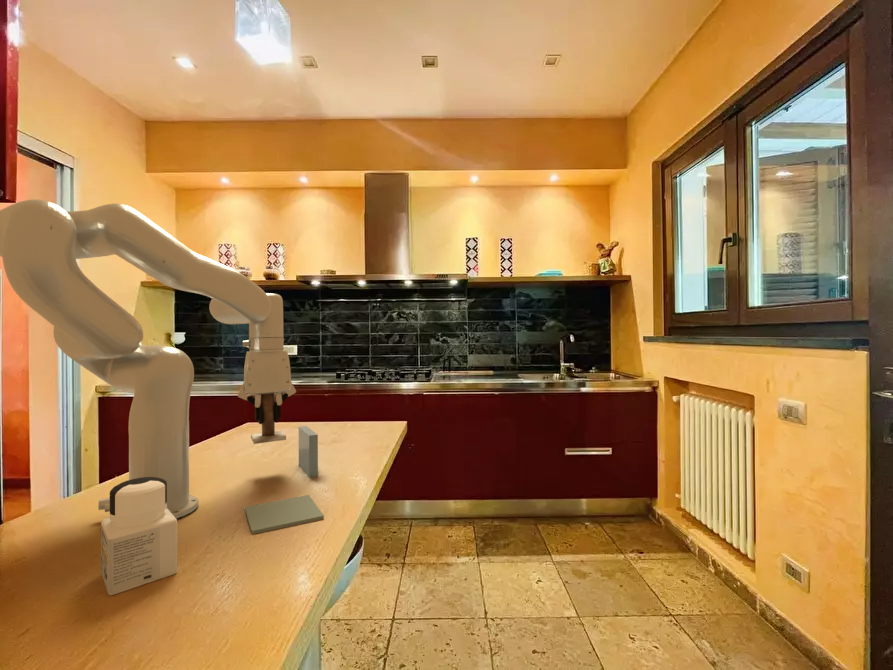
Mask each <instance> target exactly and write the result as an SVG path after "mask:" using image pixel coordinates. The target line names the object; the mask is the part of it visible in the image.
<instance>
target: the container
mask: <svg viewBox="0 0 893 670" xmlns="http://www.w3.org/2000/svg"><path fill="white" fill-rule="evenodd" d="M109 498H110V511H109V517H106V518H104V519H102V520H101V522H100V573H101V576H102V577H101V578H102V579H103V582H104V585H105V589H106V592H107V594H108V596H114V595H117V594H120V593H122V592H126V591H128V590H129V591H130V590H131V589H135V588H138V587H140V586H144V585H146V584H150V583H153V582H156V581H158V580H162V579H165V578H167V577H170V576H173V575H175V574H177V572H178V518H177V519H176V518H175V517H174V516H173V514H172V513H171V512H170V511H169V510H168V509H167V482H166V481H165V480H164V479H162V478H157V477H142V478H136V479H131V480H129V479H128V480H125V481H122V482H121V483H118V484H117V485H115V486H113V487H112V489H111V490H110V491H109Z"/></svg>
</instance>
